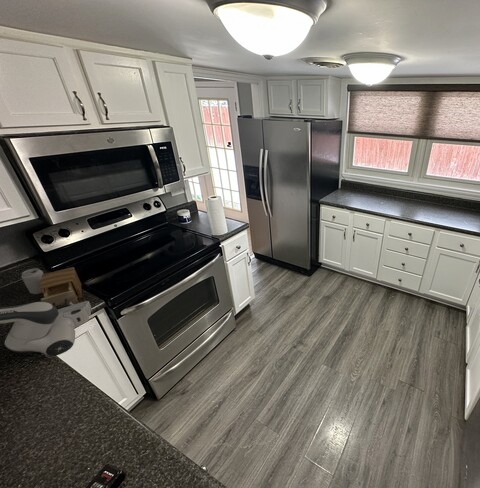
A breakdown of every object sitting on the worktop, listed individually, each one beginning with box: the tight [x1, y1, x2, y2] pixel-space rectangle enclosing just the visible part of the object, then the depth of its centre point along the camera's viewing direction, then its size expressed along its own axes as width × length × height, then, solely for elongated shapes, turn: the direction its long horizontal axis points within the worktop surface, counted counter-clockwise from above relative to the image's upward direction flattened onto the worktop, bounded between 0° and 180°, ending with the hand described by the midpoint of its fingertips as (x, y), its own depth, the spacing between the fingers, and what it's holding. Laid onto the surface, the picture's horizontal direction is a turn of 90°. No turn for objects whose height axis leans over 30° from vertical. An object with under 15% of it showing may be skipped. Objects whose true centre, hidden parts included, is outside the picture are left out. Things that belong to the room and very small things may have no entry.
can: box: [20, 267, 44, 295], centre depth 134 cm, size 8×8×12 cm
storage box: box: [40, 266, 83, 300], centre depth 132 cm, size 15×12×11 cm
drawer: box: [40, 282, 80, 310], centre depth 123 cm, size 19×11×9 cm, turn 40°
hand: (60, 306), depth 117 cm, fingers closed on drawer, 5 cm apart
